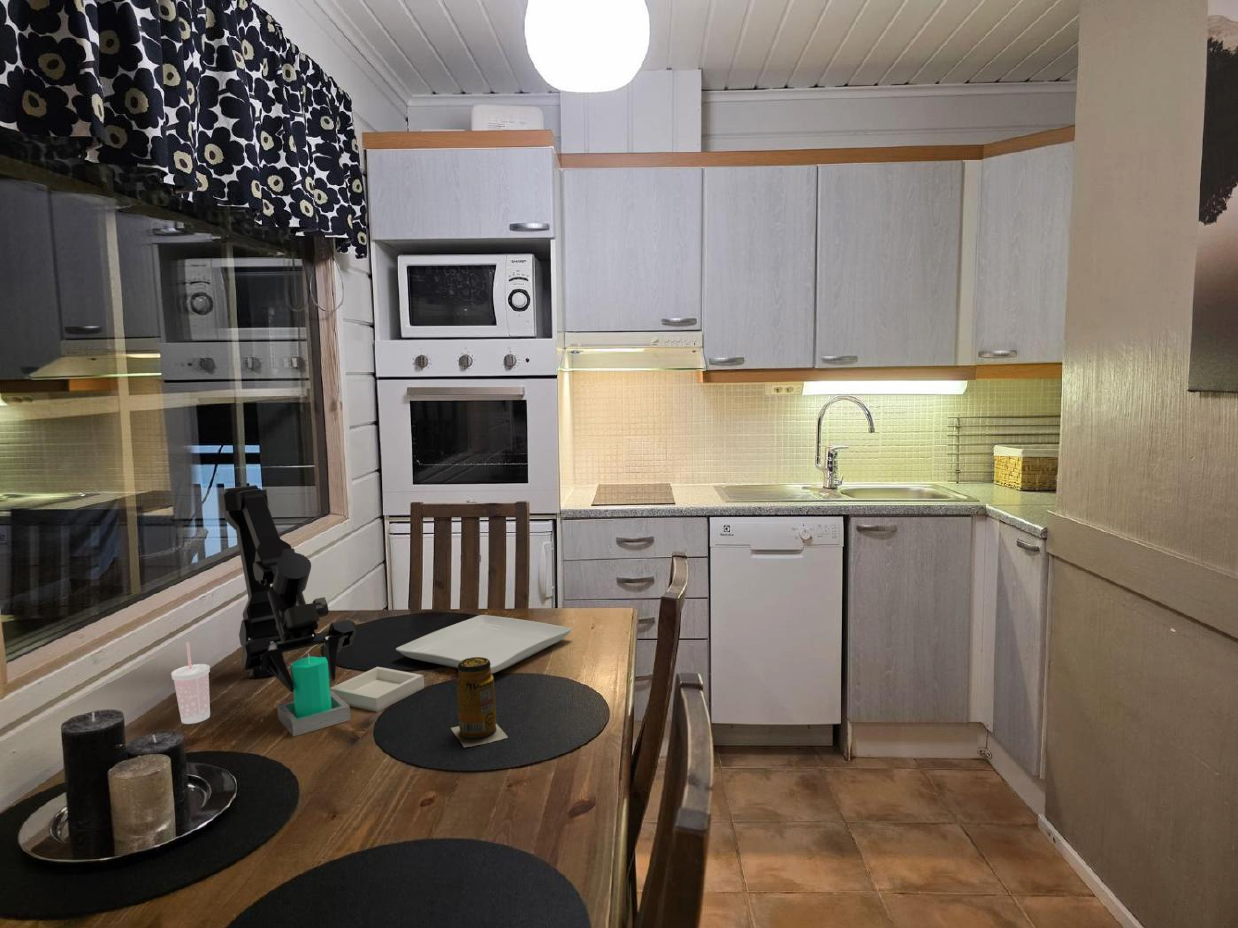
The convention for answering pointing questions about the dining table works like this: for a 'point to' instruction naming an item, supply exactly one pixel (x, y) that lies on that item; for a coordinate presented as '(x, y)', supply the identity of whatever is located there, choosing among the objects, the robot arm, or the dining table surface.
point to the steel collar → (313, 716)
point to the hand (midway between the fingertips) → (313, 685)
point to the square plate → (485, 641)
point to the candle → (311, 686)
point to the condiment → (476, 704)
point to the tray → (378, 688)
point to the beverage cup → (192, 691)
